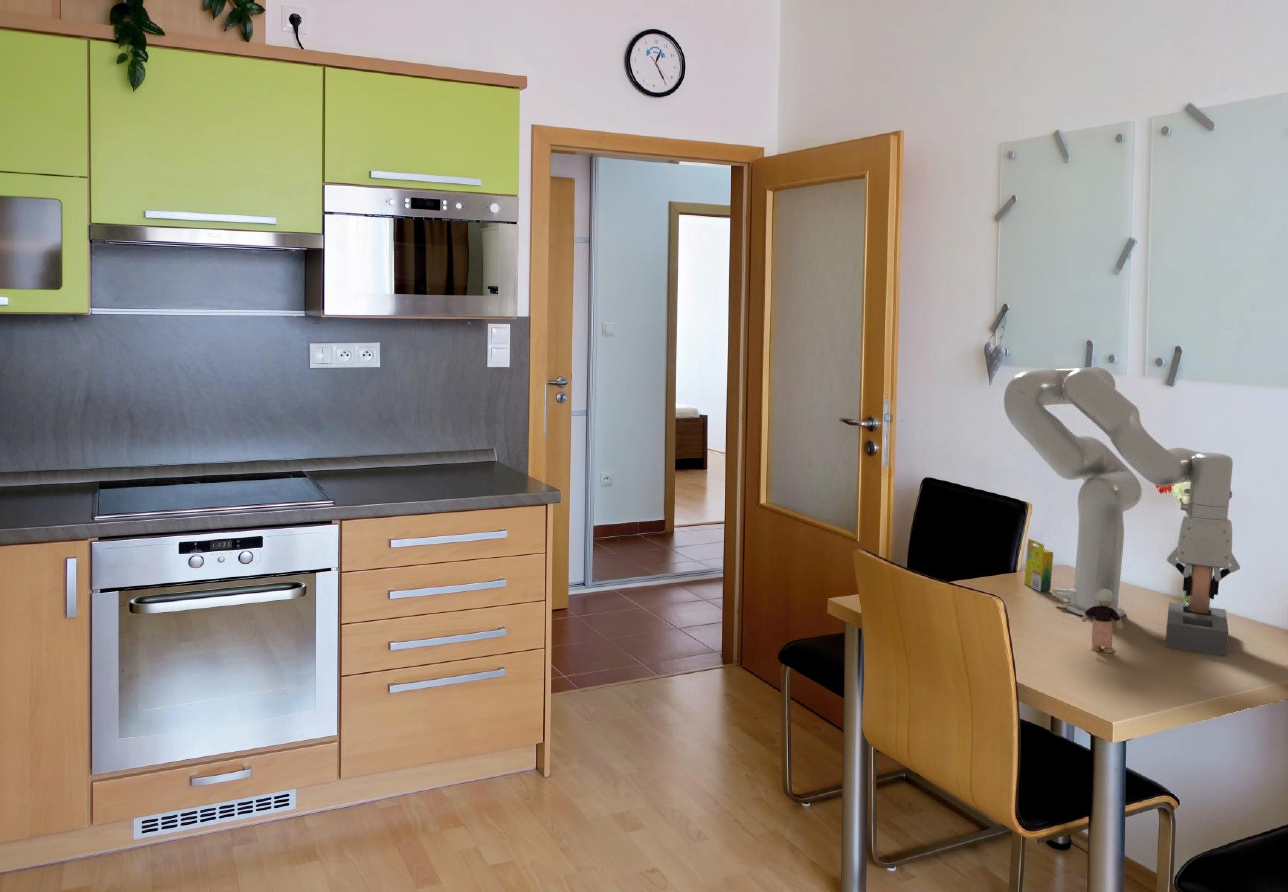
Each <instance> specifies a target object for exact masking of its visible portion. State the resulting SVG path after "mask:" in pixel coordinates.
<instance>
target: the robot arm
mask: <svg viewBox="0 0 1288 892" xmlns="http://www.w3.org/2000/svg"><path fill="white" fill-rule="evenodd" d="M1003 396H1004V397H1003V405H1004V410H1005V411H1004V412H1005V414H1006V416H1007V418H1008V420H1009V422H1010V423H1011V425H1012V426H1013V428H1015V430H1016V431H1017V432H1018V433H1019V434H1020V435H1021V436H1022V437H1023V438H1024V439H1025V440H1026V441H1027V442H1028V443H1029V445H1030V446H1031V447H1032V449H1034V450H1035V452H1036V453H1038V455H1039V456H1041V458H1042V459H1043V460H1044V462H1046V463H1047V465H1049V467H1051V469H1052V470H1053V471H1054V472H1055V473H1056V474H1057V475H1058V476H1060V477H1061V478H1062V479H1065V480H1069V481H1072V480H1073V481H1074V480H1083V483H1082V485H1081V486H1080V488H1079V492H1078V495H1077V510H1078V533H1077V548H1076V557H1075V570H1074V582H1073V586H1072V588H1070V587H1068V588H1067V589H1066V588H1065V589H1064V588H1062V587H1061V588H1060V587H1053V588H1052V596H1053V597H1056V598H1057V599H1062V600H1063V599H1065V600H1066V601H1065V603H1064V608H1065V609H1066V610H1067V611H1069V612H1071V613H1073V614H1076V615H1080V616H1082V617H1083V616H1084V614H1085V611H1087V610H1088V609H1089V608H1091V607H1093V606H1101V605H1100V604H1099V603H1098V601H1097V600H1096V599H1095V596H1096V594H1097V593H1098V591H1100V590H1102V589H1109V590H1111V591H1112V593H1113V599H1112V602H1111V604H1110V605H1109V606H1107V607H1110V608H1112V609H1114V610H1115V611H1116V612H1117V614H1118V615H1119V617H1120V618H1122V617H1123V616H1125V613H1126V612H1125V611H1126V610H1125V608H1124V607H1123V606H1121V605H1120V604H1119V595H1120V586H1121V585H1120V584H1121V574H1122V573H1121V572H1122V565H1123V564H1122V562H1123V555H1124V554H1123V553H1124V539H1125V526H1124V525H1125V524H1124V514H1123V513H1124V512H1125V511H1126V512H1127V511H1129V510H1130V509H1133V508H1134V507H1135V506H1137V504H1139V502H1140V501H1141V498H1142V493H1143V492H1142V491H1143V490H1142V489H1143V488H1142V485H1141V482H1140V480H1139V479H1138V478H1137V476H1136V475H1135V473H1134V472H1132V470H1130V469H1129V467H1128V466H1126V464H1125V463H1124V462H1123V461H1122V460H1121V459H1120V458H1118V456H1117V455H1116V454H1115V453H1114V452H1113V451H1112V450H1111V449H1110V448H1109V447H1108V446H1107V444H1104V443H1103V442H1102V441H1100V440H1099V439H1097V438H1095V437H1092V436H1089V435H1087V436H1086V435H1081V436H1077V435H1075V434H1074V433H1073V432H1071V430H1069V429H1068V427H1066V426H1065V425H1064V423H1063V422H1062V421H1061V420H1060V419H1059V418H1058V417H1057V416H1056V415H1054V414H1053V413H1052V412H1050V411H1049V410H1048V409H1046V407H1045V406H1052V405H1054V406H1055V405H1073V406H1074V407H1075V408H1076V409H1077V410H1079V412H1081V413H1082V414H1083V415H1084V416H1086V418H1087V419H1089V420H1090V421H1092V423H1094V424H1095V425H1096V426H1097V427H1098V428H1099V429H1100V430H1101V431H1102V432H1103V433H1105V434H1106V435H1107V436H1108V438H1109V439H1110V442H1111V443H1112V444H1113V446H1114V447H1115V449H1116V451H1118V454H1119V455H1120V456H1121V457H1122V458H1123V459H1124V461H1125V462H1126V463H1127V464H1128V465H1130V466H1131V467H1132V469H1134V470H1135V471H1136V472H1138V474H1139V475H1140V476H1142V477H1143V478H1144V479H1146V480H1147V481H1148V482H1150V483H1152V484H1153V485H1156V486H1159V487H1170V486H1174V485H1176V484H1181V483H1190V484H1189V485H1190V486H1189V495H1188V502H1186V503H1181V504H1180V511H1183V512H1186V513H1187V514H1184V515H1183V518H1182V520H1181V523H1180V529H1179V533H1178V540H1177V546H1176V547H1175V548H1174V550H1172V551H1171V553H1170V554H1169V555H1168V556H1167V558H1166V561H1167V562H1168V563H1169V564H1171V565H1172V566H1173V567H1175V568H1176V569H1177V571H1179V572H1180V574H1181V575H1182V577H1183V585H1182V591H1183V592H1185V596H1186V597H1189V596H1190V589H1191V572H1192V565H1197V566H1206V567H1213V575H1212V582H1211V592H1210V600H1214V599H1215V596H1218V595H1219V586H1220V585H1219V584H1220V581H1221V580H1222V579H1224V578H1226V577H1227V576H1228V575H1230V574H1231V573H1232V574H1233V573H1234V572H1237V571H1239V570H1240V569H1241V566H1240V564H1239V562H1238V561H1237V559H1236V557H1235V556H1234V554H1233V526H1232V525H1233V524H1232V521H1231V519H1229V518H1228V517H1229V515H1228V514H1229V506H1230V505H1229V504H1230V495H1231V485H1232V477H1233V464H1234V462H1233V459H1232V457H1231V456H1229V455H1227V454H1223V453H1216V452H1200V451H1196V450H1192V449H1188V448H1183V447H1173V448H1172V447H1171V448H1168V449H1167V448H1164V447H1163V446H1162V445H1161V444H1160V443H1159V442H1158V441H1156V440H1155V439H1154V438H1153V437H1152V436H1151V435H1150V434H1149V433H1148V431H1147V430H1146V429H1145V428H1144V427H1143V425H1142V424H1143V423H1142V422H1141V416H1140V411H1139V409H1138V406H1136V405H1135V404H1134V403H1132V402H1131V401H1130V400H1129V399H1128V398H1127V397H1126V396H1124V395H1123V394H1122V393H1121V392H1119V391H1118V390H1117V389H1116V380H1115V378H1114V376H1113V375H1112V373H1110V372H1109V370H1107V369H1105V368H1102V367H1099V366H1090V367H1087V366H1086V367H1081V368H1080V367H1079V368H1051V369H1047V368H1045V369H1035V370H1027V371H1023V372H1020V373H1018V374H1016V375H1015V376H1013V378H1012V379H1011V380H1009V382H1008V384H1007V385H1006V388H1005V391H1004V395H1003ZM1183 564H1184V565H1183ZM1093 619H1095V617H1093Z"/></svg>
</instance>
